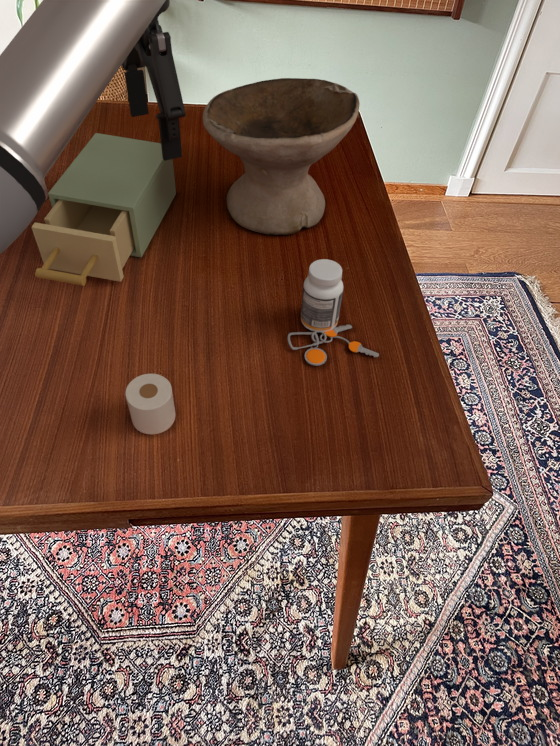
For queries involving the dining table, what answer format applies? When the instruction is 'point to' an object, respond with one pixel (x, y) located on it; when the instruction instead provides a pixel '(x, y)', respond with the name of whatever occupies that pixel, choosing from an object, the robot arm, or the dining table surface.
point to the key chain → (318, 355)
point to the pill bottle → (322, 296)
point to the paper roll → (150, 403)
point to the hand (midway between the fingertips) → (155, 135)
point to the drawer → (83, 242)
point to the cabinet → (121, 182)
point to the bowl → (279, 147)
